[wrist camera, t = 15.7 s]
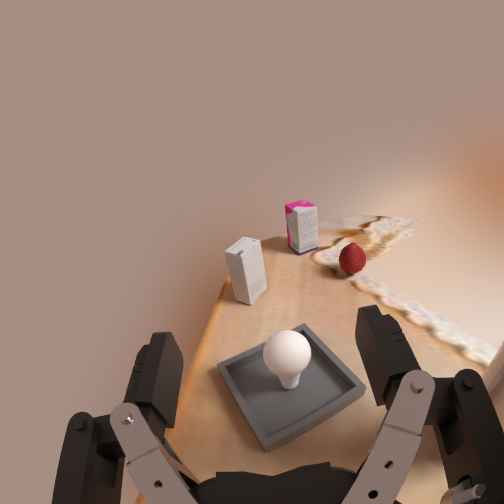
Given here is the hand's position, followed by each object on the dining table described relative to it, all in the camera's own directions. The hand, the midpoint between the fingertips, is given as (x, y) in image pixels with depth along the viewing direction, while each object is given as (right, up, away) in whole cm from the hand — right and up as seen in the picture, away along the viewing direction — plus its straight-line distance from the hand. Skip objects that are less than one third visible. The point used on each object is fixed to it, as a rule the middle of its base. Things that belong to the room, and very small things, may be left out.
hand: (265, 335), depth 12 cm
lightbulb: (+5, -16, +28) cm, 32 cm away
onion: (+21, -1, +49) cm, 53 cm away
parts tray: (+5, -17, +28) cm, 33 cm away
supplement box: (+12, +5, +61) cm, 62 cm away
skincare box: (-1, -6, +48) cm, 48 cm away
